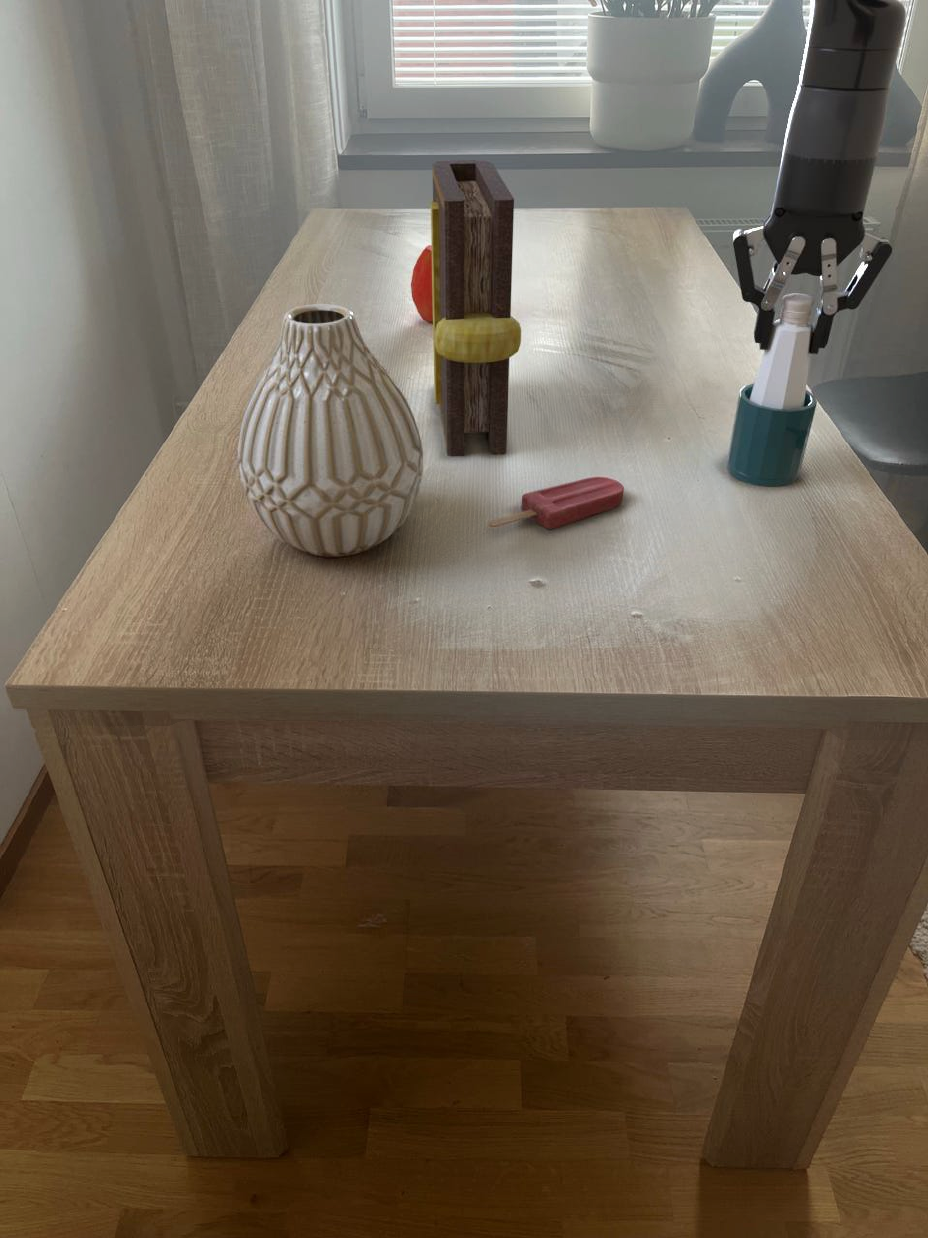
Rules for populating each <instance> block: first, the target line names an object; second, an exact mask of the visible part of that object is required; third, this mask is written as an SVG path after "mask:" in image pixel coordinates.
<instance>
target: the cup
mask: <svg viewBox="0 0 928 1238" xmlns="http://www.w3.org/2000/svg"><path fill="white" fill-rule="evenodd" d="M754 383H755V382H753V383H750V384H748V385H744V386H743V387H742V388H741V389H740V390H739V392H738V398H737V403H736V408H735V415H734V420H733V425H732V431H731V435H730V442H729V445H728V451H727V459H726V460H727V461H726V470H727V471H728V473H729V474H730V475H731V476H733V477H734V478H735V479H737V480H739V481H742V482H744V483H747V484H751V485H754V486H761V487H781V486H786V485H790V484H792V483H794V482H796V481H797V480H798V478H799V476H800V472H801V470H802V468H803V467H802V466H803V462H804V460H805V459H804V458H805V455H806V450H807V445H808V441H809V438H810V433H811V429H812V425H813V420H814V418H815V417H814V416H815V412H816V408H817V404H818V401H817V400H818V399H817V397H816V395H815V394H813V393H812V392H810V391H809V390H808V389H806V394H805V402H804V407H802V408H798V409H774V408H770V407H765V406H761V405H759V404H756V403H754V402H752V401H750V397H751V393H752V390H753V387H754Z"/></svg>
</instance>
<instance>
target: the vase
mask: <svg viewBox="0 0 928 1238" xmlns="http://www.w3.org/2000/svg"><path fill="white" fill-rule="evenodd" d="M282 318H283V319H282V323H281V326H280V327H281V328H280V332H279V333H280V334H279V339H278V342H277V345H276V349H275V351H274V353H273V355H272V357H271V359H270V360H269V362H268V363H267V365H266V366H265V368H264V370H263V371H262V373H261V374H260V376H259V378H258V380H257V381H256V384H255V386H254V388H253V389H252V392H251V394H250V396H249V398H248V400H247V403H246V405H245V409H244V412H243V415H242V419H241V424H240V428H239V435H238V442H237V454H236V456H237V458H236V459H237V470H238V474H239V479H240V482H241V486H242V490H243V492H244V495H245V497H246V500H247V502H248V504H249V506H250V507H251V509H252V511H253V513H254V514H255V516H256V517H257V518H258V520H259V521H260V523H262V525H263V526H264V527H265V528H266V529H267V530H268V531H269V532H270V533H271V534H272V535H273V536H275V537H276V538H278V539H279V540H280V541H281V542H283V543H285V544H286V545H288V546H290V547H293V548H295V549H297V550H299V551H302V552H304V553H307V554H311V555H314V556H319V557H329V558H331V557H333V558H336V557H337V558H338V557H347V556H353V555H357V554H360V553H364V552H366V551H368V550H370V549H372V548H374V547H376V546H377V545H379V544H380V543H382V542H384V541H385V540H386V539H388V538H390V537H391V536H392V535H393V534H394V533H395V532H396V531H397V530H398V529H400V527H401V526H402V525H403V524H404V523H405V521H406V519H407V518H408V516H409V514H410V513H411V511H412V509H413V507H414V505H415V503H416V501H417V499H418V495H419V492H420V489H421V486H422V485H421V484H422V479H423V472H424V449H423V442H422V438H421V434H420V431H419V430H420V429H419V427H418V424H417V421H416V419H415V416H414V413H413V411H412V408H411V406H410V404H409V402H408V399H407V398H406V396H405V395H404V393H403V391H402V390H401V388H400V386H399V385H398V384H397V382H396V381H395V379H394V378H393V376H392V375H391V374H390V372H389V371H388V370H387V369H386V368H385V366H384V365H383V364H382V363H381V362H380V360H379V359H378V358H377V357H376V356H375V355H374V354H373V353H372V351H371V349H370V348H369V347H368V346H367V344H366V342H365V340H364V338H363V335H362V334H361V330H360V328H359V326H358V323H357V320H356V318H355V316H354V314H353V312H352V311H351V309H349V308H347V307H345V306H342V305H338V304H330V303H314V304H313V303H312V304H306V305H299V306H297V307H294V308H292V309H290V310H288V311H287V312H286V313H284V315H283V317H282Z"/></svg>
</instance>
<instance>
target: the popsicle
mask: <svg viewBox="0 0 928 1238" xmlns="http://www.w3.org/2000/svg"><path fill="white" fill-rule="evenodd" d="M624 492H625V487H624V486H623V484H622V482H620V481H618V480H616V479H613V478H611V477H606V476H593V477H587V478H583V479H579V480H574V481H569V482H566V483H562V484H558V485H554V486H551V487H546V488H542V489H538V490H534V491H529V492H525V493H523V494H522V495H521V511H519V512H517V513H513V514H510V515H507V516H503V517H500V518H497V519H496V518H495V519H493V520H490V521H488V524H487V525H488V527H490V528H497V527H501V526H504V525H508V524H511V523H515V522H518V521H522V520H525V519H528V518H531V519H533V520H534V521H536V522H537V523H538V524H540V526H542V527H543V528H545V529H546V530H553V529H556V528H559V527H561V526H565V525H567V524H570V523H573V522H576V521H579V520H582V519H585V518H587V517H588V518H589V517H591V516H593V515H596V514H599V513H603V512H606V511H607V510H611V509H615V508H616V507H618V506H619V505H621V504H622V502H623V499H624Z"/></svg>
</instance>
